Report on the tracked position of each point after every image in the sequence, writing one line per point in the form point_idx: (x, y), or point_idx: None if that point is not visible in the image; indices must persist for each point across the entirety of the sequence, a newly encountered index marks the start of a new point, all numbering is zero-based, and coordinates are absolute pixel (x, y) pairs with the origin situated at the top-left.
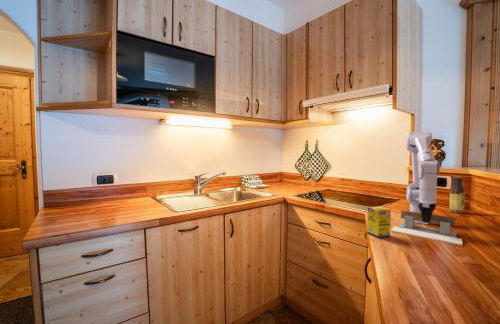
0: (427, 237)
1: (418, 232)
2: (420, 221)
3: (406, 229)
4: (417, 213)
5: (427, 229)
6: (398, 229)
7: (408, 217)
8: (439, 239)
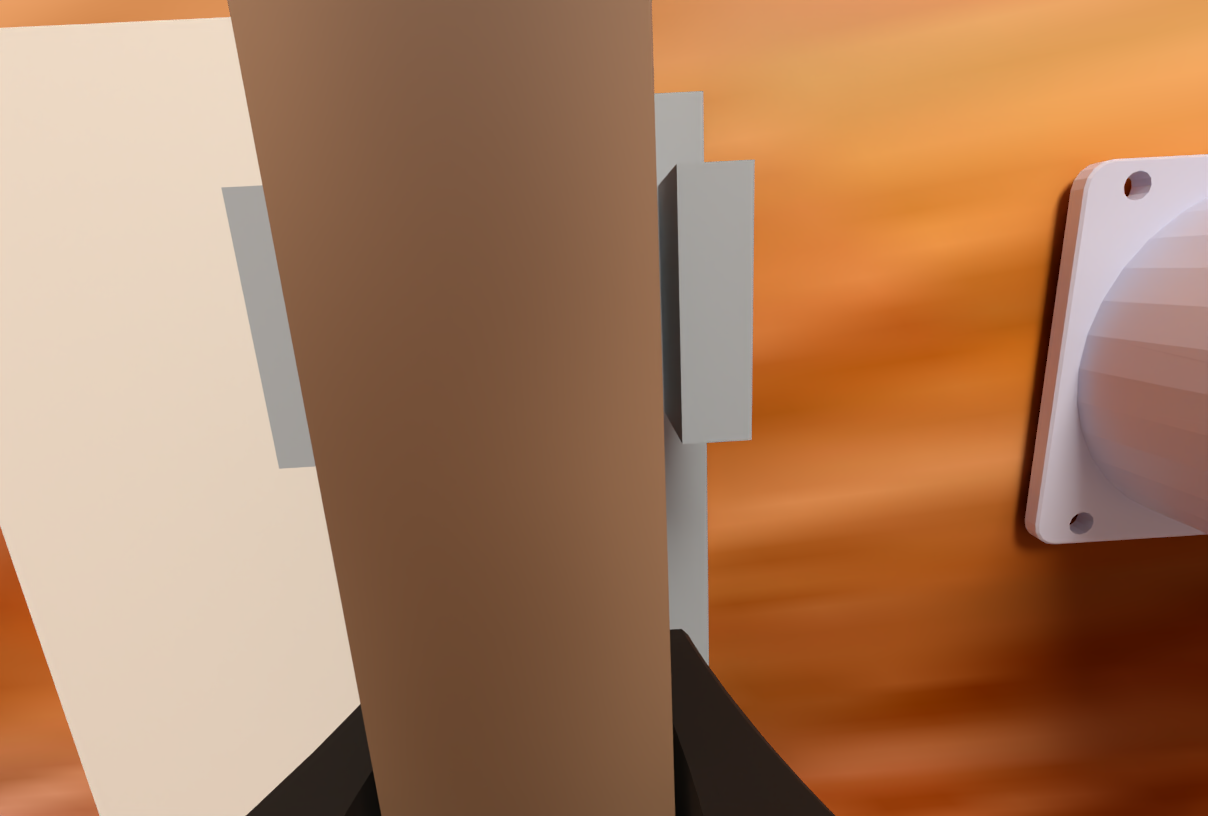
0: (49, 654)
1: (216, 509)
2: (1093, 420)
3: (225, 301)
4: (416, 646)
5: None
6: (68, 163)
7: (276, 322)
8: (99, 785)
